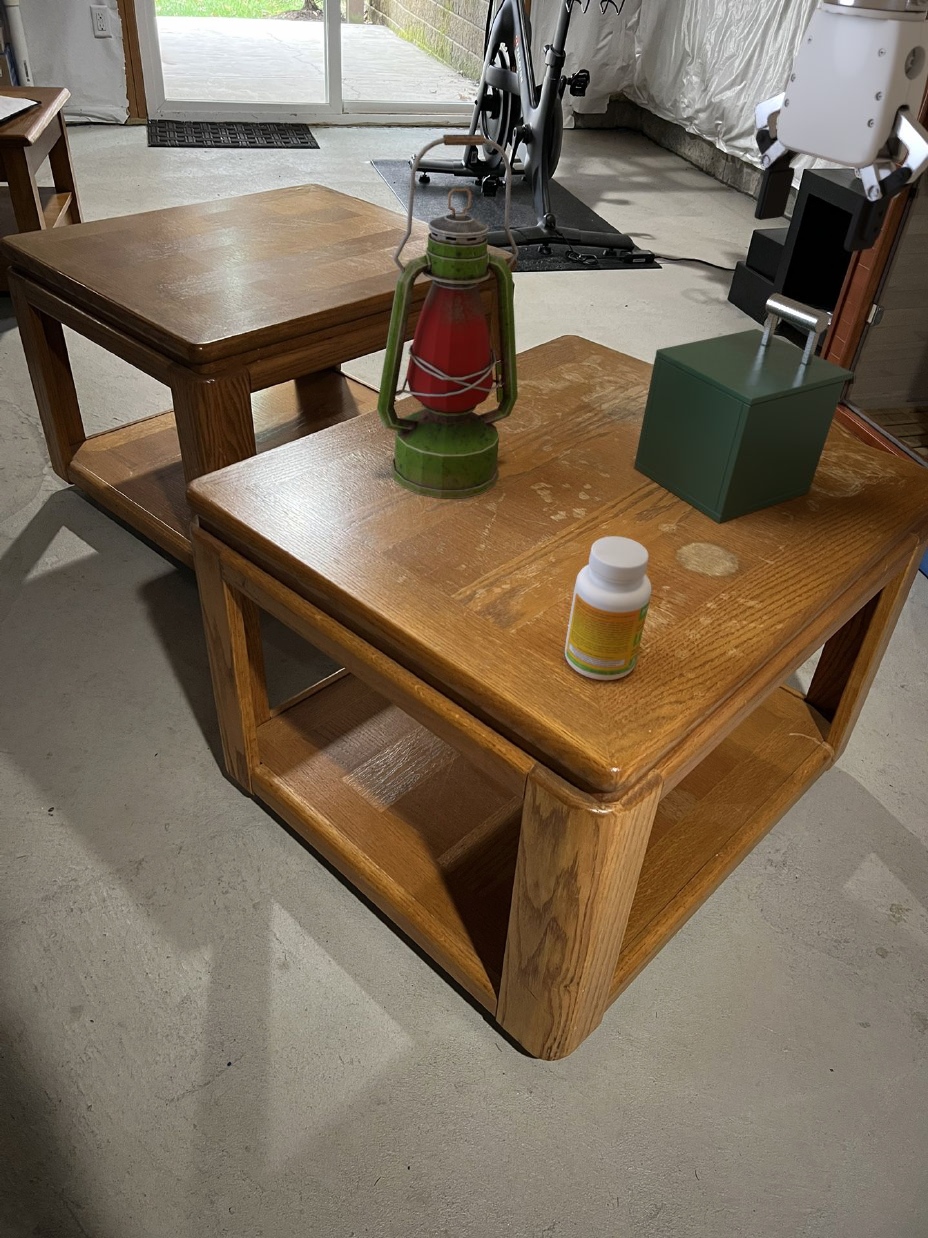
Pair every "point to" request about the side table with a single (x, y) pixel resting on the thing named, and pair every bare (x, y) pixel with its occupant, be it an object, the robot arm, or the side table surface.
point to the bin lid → (761, 357)
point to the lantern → (451, 353)
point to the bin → (731, 443)
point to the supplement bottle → (609, 609)
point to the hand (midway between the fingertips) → (811, 232)
